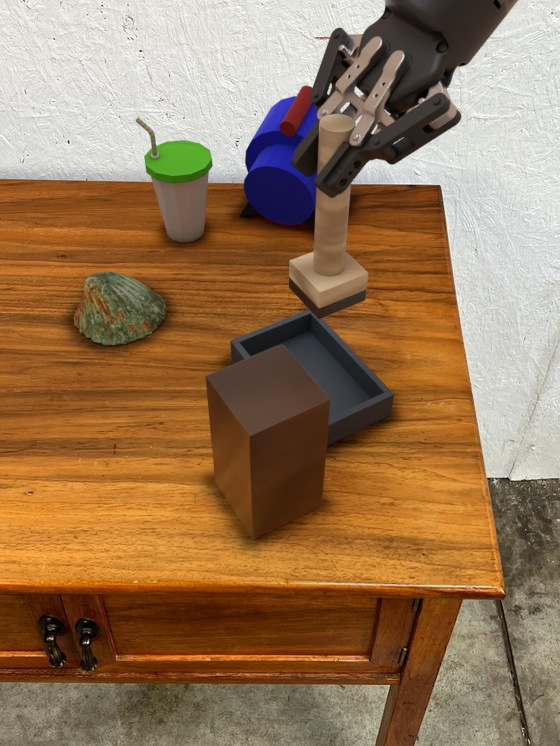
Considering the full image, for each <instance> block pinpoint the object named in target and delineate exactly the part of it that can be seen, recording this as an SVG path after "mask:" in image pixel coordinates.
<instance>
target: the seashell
mask: <svg viewBox="0 0 560 746" xmlns="http://www.w3.org/2000/svg"><path fill="white" fill-rule="evenodd" d="M81 294H82V295H81V298H80V302H79V305H78V306H77V308H76V310H75V312H74V315H73V323H74V324H73V325H74V327H75V328H77V329H78V331H79V334H80V335H81V334H82V335H84V336H85V338H87V339H88V338H89V339H91V342H93V343H97V344H102V345H103V346H107V347H108V346H119V345H128V344H129V343H131V342H132V343H133V342H136V341H137V340H139V339H144V338H146V337H147V336H150V335H151V334H153V332H154V331H155V330H157V329H158V328H159V327H160V326H161V324H162V321H164V320H165V319H166V316H167V314H168V312H167V305H166V301H165V300H164V299H163V297H162V296H161V295H160V294H159V293H157V292H156V291H154V290H152V289H151V288H150V287H148V286H146V285H145V284H144V283H142V282H141V281H140V280H137V279H135V278H133V277H131V276H129V275H126V274H123V273H120V272H116V271H101V272H96V273H94V274H91V275H89V276H88V277H87V278H86V279H85V280H84V282H83V286H82V293H81Z"/></svg>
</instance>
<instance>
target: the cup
mask: <svg viewBox="0 0 560 746" xmlns="http://www.w3.org/2000/svg"><path fill="white" fill-rule="evenodd" d="M135 122H136V123H137V124H138V126H140V127H141V128H142V129H144V130H145V131H146V132H147V133H148V135H149V137H150V145H151V148H150V149H149V150H148V151H147V152H146V153H145V154H144V156H143V158H144V165H145V173H146V174H147V175H149V176H150V179H151V182H152V185H153V189H154V193H155V195H156V199H157V203H158V206H159V210H160V214H161V216H162V219H163V224H164V228H165V231H166V235H167V237H168V238H169V239H170V240H172V241H173V242H177V243H182V244H183V243H192V242H194V241H197V240H199V239H201V237H202V236H203V235H204V234H205V223H206V211H207V200H208V199H207V198H208V185H209V175H210V171H211V169H212V168H213V158H212V152H211V150H210V149H209V148H208V147H206V146H204V145H203V144H201V143H200V142H195V141H190V140H185V139H181V140H169V141H165V142H162V143H160V144H157V140H156V134H155V132H154V130H153V129H152V128H151V127H150V126H149V125H148V124H147V123H146V122H145V121H144V120H143V119H141V118H140V117H139V116H137V117H136V119H135Z"/></svg>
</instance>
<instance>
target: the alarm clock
mask: <svg viewBox="0 0 560 746" xmlns="http://www.w3.org/2000/svg"><path fill="white" fill-rule="evenodd" d="M312 88H313V86H311V85H302V86H301V88H300V89H299V90H298V93H297V95H293V96H289V97H285V98H282V99H280V100H279V101H277V102H275V104H274V105H272V106H271V107H270V108H269V110H268V112H267V114H266V115H265V117H264V118H263V120H262V121H261V124H260V125H259V127H258V128H257V130H256V132H255V133H254V136H253V137H252V139H251V140H250V142H249V144H248V146H247V147H246V150H245V156H244V164H245V168H246V171H247V174H246V176H245V178H244V179H243V191H244V195H245V198H246V200H247V201H248V202H247V203H246V204H245V206H244V208H243V209H242V211H241V213H240V214H239V217H244V216H245V217H246V216H251V215H252V216H253V215H257V214H259V215H261V216H262V217H264V218H266V219H267V220H269V221H272V222H275V223H277V224H279V225H287V226H294V225H299V224H302V223H303V224H304V225H306V226H307V227H308V228H310V229H312V230H314V231H315V212H316V190H317V187H316V186H315V185H314V180H315V178H316V177H317V171H316V173H315V174H314V175H313V176H312V177H306V176H305V175H304V174H302V173H301V172H299V171H298V170H297V169H296V168H295V167H293V166H292V165H291V159H292V157H293V154H294V152H295V149H296V148H297V146H298V145H299V144H300V143H301V141H302V140H303V139H304V137H305V136H306V134H307V133H308V132H309V130H310V129H311V128H312V126H313V125H314V124H315V122H316V121H317V110H316V107H315V105H314V104H313V103H312V102H311V101H310V98H309V97H310V93H311V90H312ZM353 199H354V197H353V196H352V193H351V192H350V203H349V205H350V204H351V202H352V201H353Z"/></svg>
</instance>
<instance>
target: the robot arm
mask: <svg viewBox="0 0 560 746" xmlns="http://www.w3.org/2000/svg"><path fill="white" fill-rule="evenodd" d="M518 2H519V0H384V10H383V13H382V14H381V16H380V17H378V19H377V20H376V21H374V22H373V23H371V24H370V25H369V26H367V27H366V29H365V30H364V31H363V33H356V34H355V33H354V34H348V33H347V31H345V30H344V28H342V27H337V28H335V29H334V30H333V31H332V32H331V33H330V36H329V39H328V42H327V45H326V46H325V47H326V48H325V51H324V53H323V55H322V60H321V61H320V65H319V68H318V70H317V73H316V76H315V78H314V79H315V80H314V82H313V85H312V90H311V93H310V97H309V98H310V101H311V102H312V103H313V104H314V105H315V107H316V110H317V121H316V122H315V124H314V125H313V126H312V128H311V129H310V130H309V132H308V133H307V134H306V136H305V137H304V139H303V140H302V141H301V143H300V144H299V145H298V146H297V148H296V149H295V152H294V154H293V157H292V159H291V165H292V166H293V167H295V168H296V169H297V170H298V171H299V172H301V173H302V174H304V175H305V176H306V177H312V176H313V175H314V174H315V173H316V171H317V167H318V145H319V123H320V120H321V119H322V118H323V117H325V116H327V115H331V114H342V115H347V116H349V117H351V118H353V119H354V120H355V122H356V121H357V120H358V119H359V118H360V119H359V120H358V122H357V123H356V127H355V128H354V130H353V132H352V133H351V135H350V137H349V145H348V144H347V143H346V142H343V143H342V144H341V145H340V147H339V148H338V149H337V151H336V152H335V153H334V155H333V156H332V157H331V159H330V160H329V161H328V163H327V164H326V165H325V166H324V168H323V169H322V170H321V172H320V173H319V174H318V176H317V177H316V178H315V180H314V185H315V186H316V187H317V188H318V189H319V190H320V191H322V192H323V193H324V194H326V195H327V196H329V197H330V198H334V197H336V196H337V195H338V194H339V195H340V194H341V193H343V192H344V191H345V190H346V189H347V188H348V186H349V185H350V183H351V184H352V183H353V181H354V179H356V178H357V176H359V174H360V173H361V171H362V170H363V169H364V168H365V166H366V165H367V164H368V163H369V162H370V161H375V160H379V161H380V160H381V161H384V162H386V163H387V164H388V165H396V164H398V163H399V162H401V161H402V160H404V159H405V158H407V157H408V156H410V155H412V154H413V153H415V152H416V151H418V150H419V149H421V148H423V147H424V146H427V144H430V143H431V142H432V141H434V140H435V139H437V138H438V137H440V136H442V135H443V134H445V133H446V132H448V131H450V130H451V129H453V128H454V127H456V126H457V125H458V124H460V122H461V120H462V113H461V111H460V110H459V109H458V108H457V106H456V105H455V104H454V102H452V101H453V100H452V99H451V96H450V94H449V91H448V88H449V87H450V85H451V83H452V80H453V76H454V74H455V71H456V69H457V68H458V67H459V68H463V67H465V66H467V65H469V64H470V63H471V61H472V60H473V59H474V58H475V56H476V55H477V54H478V52H479V51H480V50H481V48H482V47H484V45H485V44H486V42H487V41H488V40H489V39H490V37H491V36H492V35H493V33H494V32H495V31H496V29H497V28H498V27H499V26H500V25H501V24H502V22H503V21H504V20H505V18H506V17H507V15H508V14H509V13H510V12H511V10H512V9H513V8H514V7H515V6H516V4H517V3H518ZM330 86H331V87H330ZM356 89H358V90H359V91H360V92H361V93H362V94H359V93H357V92H356ZM329 90H330V91H329ZM328 92H329V93H328ZM348 103H349V104H348ZM346 104H348V105H347V106H346V107H345V109H343V111H342V108H343V107H344V106H345V105H346ZM373 131H374V132H373Z"/></svg>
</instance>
